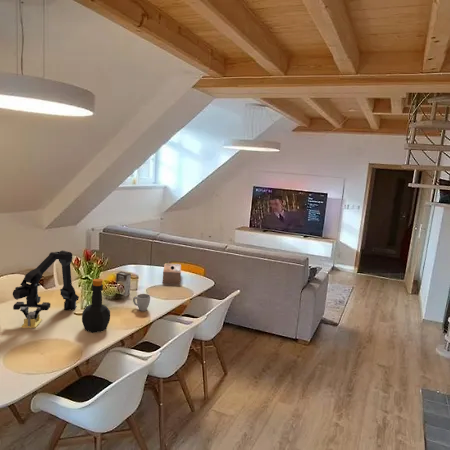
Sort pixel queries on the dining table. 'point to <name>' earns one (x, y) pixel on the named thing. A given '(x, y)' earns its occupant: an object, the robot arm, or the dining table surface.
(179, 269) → the tissue box cover
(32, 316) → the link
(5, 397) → the dining table surface
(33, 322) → the keeper
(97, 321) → the bottle
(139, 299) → the mug
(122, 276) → the coffee box
